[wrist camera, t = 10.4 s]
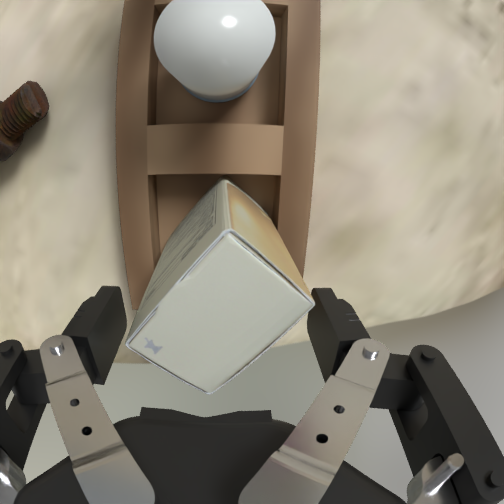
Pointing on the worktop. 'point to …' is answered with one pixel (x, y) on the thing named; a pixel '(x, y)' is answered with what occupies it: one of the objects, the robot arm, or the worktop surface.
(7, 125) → the bolt
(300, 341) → the worktop surface
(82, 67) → the worktop surface
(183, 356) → the skincare box
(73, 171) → the worktop surface
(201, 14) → the ceramic tube
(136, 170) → the holder
